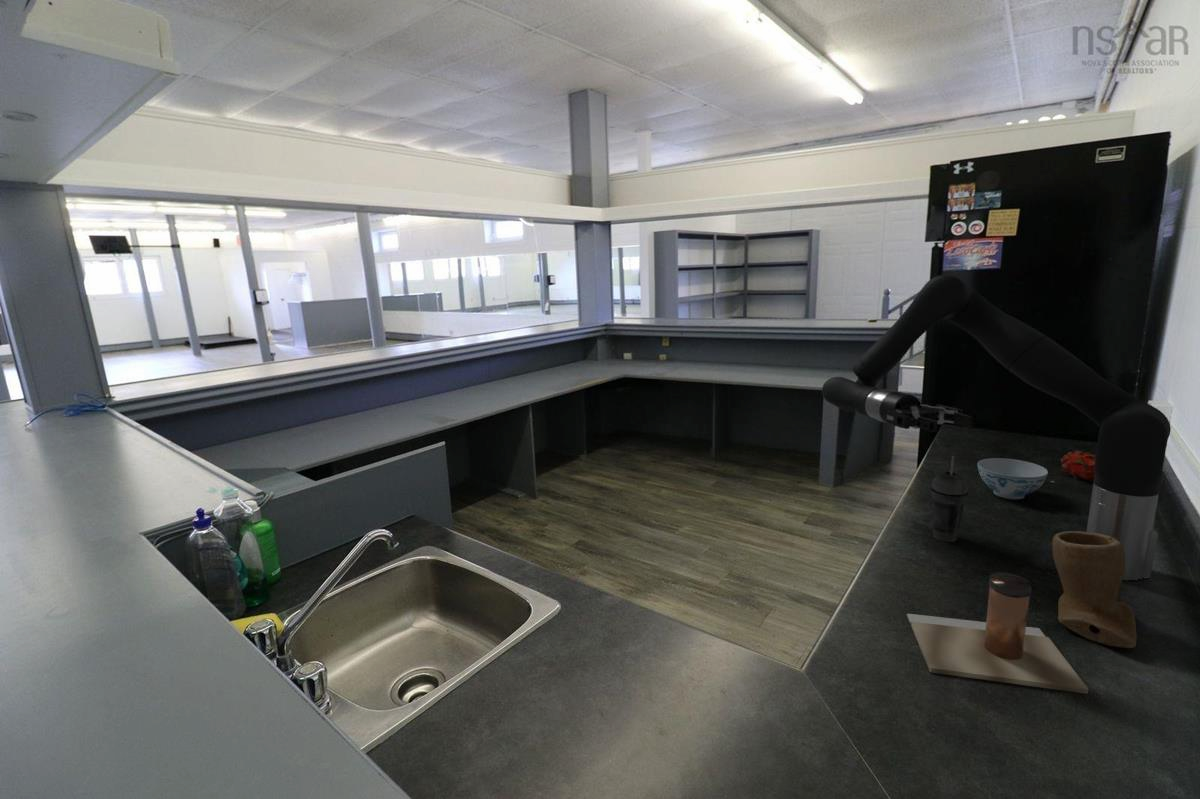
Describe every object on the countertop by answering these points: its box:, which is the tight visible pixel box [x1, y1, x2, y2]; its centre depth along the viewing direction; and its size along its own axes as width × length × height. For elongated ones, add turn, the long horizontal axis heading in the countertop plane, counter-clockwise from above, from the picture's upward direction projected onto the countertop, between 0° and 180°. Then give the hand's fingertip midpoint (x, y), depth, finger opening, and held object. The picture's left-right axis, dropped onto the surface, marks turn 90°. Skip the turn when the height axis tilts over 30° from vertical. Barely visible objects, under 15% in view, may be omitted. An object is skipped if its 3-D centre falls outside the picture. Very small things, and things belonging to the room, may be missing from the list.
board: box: [910, 622, 1089, 695], centre depth 88 cm, size 20×12×1 cm, turn 74°
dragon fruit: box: [1060, 450, 1096, 483], centre depth 156 cm, size 8×8×12 cm
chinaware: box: [977, 457, 1049, 500], centre depth 148 cm, size 15×15×8 cm
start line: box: [906, 613, 1046, 637], centre depth 95 cm, size 20×2×1 cm, turn 74°
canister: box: [984, 571, 1033, 660], centre depth 87 cm, size 5×5×12 cm
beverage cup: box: [930, 455, 969, 543], centre depth 125 cm, size 7×7×20 cm
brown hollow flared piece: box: [1052, 530, 1137, 649], centre depth 94 cm, size 15×12×15 cm
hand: (953, 424), depth 110 cm, fingers open, 8 cm apart
